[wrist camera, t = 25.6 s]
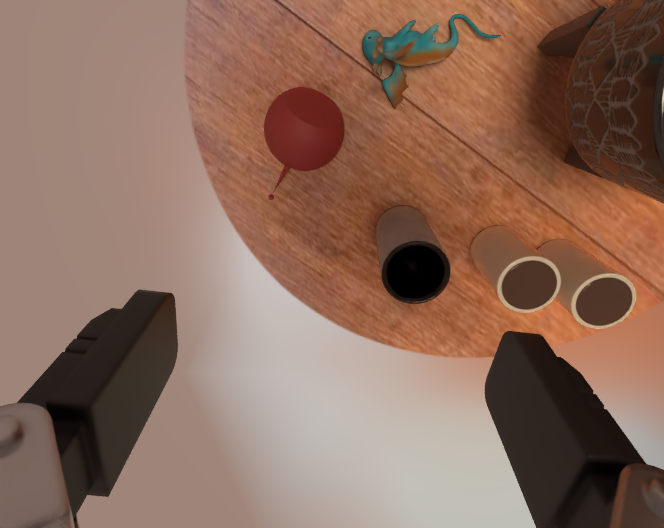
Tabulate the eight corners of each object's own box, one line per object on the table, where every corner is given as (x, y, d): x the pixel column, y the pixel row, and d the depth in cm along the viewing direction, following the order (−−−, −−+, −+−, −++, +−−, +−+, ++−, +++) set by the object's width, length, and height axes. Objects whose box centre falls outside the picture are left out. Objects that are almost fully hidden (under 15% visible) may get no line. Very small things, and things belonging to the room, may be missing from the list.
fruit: (271, 126, 37) (231, 180, 32) (290, 68, 33) (248, 120, 28) (333, 160, 38) (304, 218, 33) (360, 107, 34) (331, 165, 28)
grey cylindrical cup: (365, 239, 38) (368, 285, 29) (392, 195, 37) (405, 228, 27) (409, 263, 39) (425, 315, 29) (437, 221, 37) (464, 261, 28)
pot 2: (525, 284, 39) (565, 327, 31) (535, 237, 37) (580, 272, 30) (574, 286, 39) (627, 331, 31) (586, 240, 37) (645, 275, 29)
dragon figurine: (432, -62, 29) (351, 13, 28) (517, -2, 28) (434, 79, 27) (419, 13, 36) (352, 75, 35) (487, 65, 34) (419, 132, 33)
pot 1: (466, 271, 39) (492, 311, 31) (474, 224, 37) (503, 255, 30) (516, 273, 38) (554, 315, 31) (525, 226, 37) (568, 258, 29)
